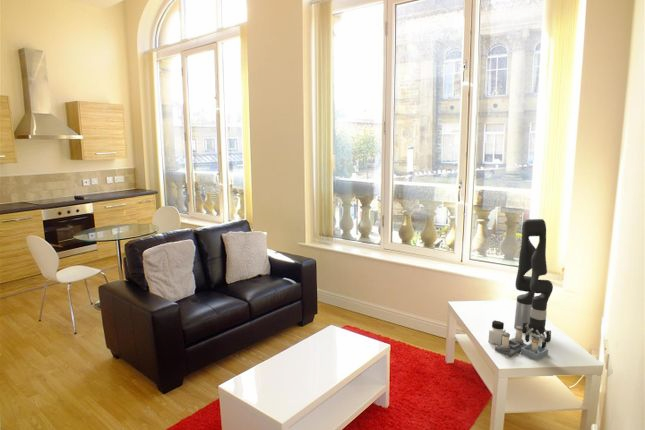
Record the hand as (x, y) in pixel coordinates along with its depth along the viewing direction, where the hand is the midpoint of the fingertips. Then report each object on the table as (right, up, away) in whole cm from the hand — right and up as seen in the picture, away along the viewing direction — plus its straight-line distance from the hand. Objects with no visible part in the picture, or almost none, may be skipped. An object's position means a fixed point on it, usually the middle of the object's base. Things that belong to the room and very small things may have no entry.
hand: (535, 344), depth 220 cm
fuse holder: (-10, -4, +6) cm, 12 cm away
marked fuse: (0, -5, +1) cm, 5 cm away
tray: (0, -5, +1) cm, 6 cm away
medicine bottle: (-14, -3, +15) cm, 21 cm away
